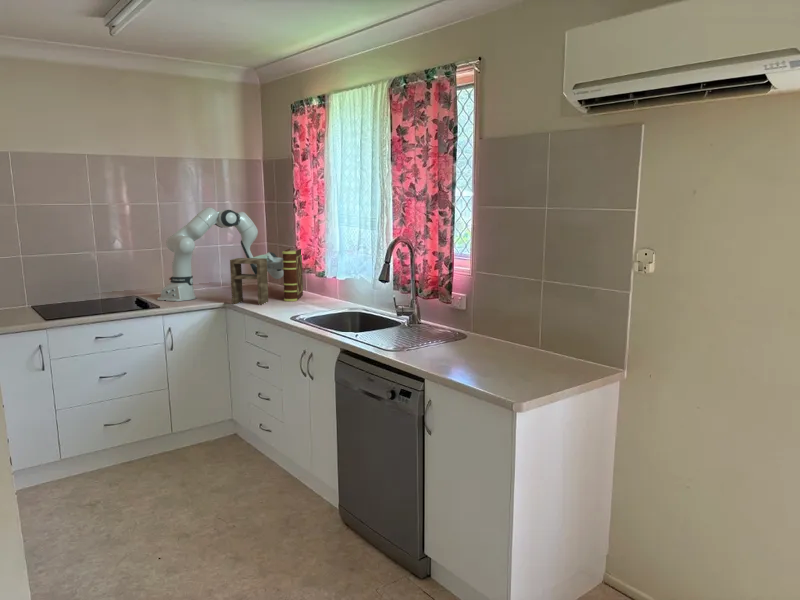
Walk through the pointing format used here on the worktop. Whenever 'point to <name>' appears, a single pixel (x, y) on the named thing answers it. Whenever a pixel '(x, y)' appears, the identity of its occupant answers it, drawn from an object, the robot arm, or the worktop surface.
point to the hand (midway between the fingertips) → (263, 256)
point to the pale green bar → (262, 256)
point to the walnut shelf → (238, 276)
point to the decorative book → (292, 275)
